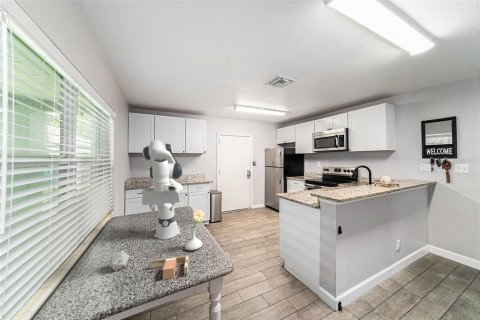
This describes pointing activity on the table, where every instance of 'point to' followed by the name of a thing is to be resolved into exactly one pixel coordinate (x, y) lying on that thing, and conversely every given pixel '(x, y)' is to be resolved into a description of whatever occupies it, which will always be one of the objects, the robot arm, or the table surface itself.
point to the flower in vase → (194, 242)
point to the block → (169, 268)
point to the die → (118, 260)
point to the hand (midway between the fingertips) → (162, 211)
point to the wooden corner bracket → (179, 260)
